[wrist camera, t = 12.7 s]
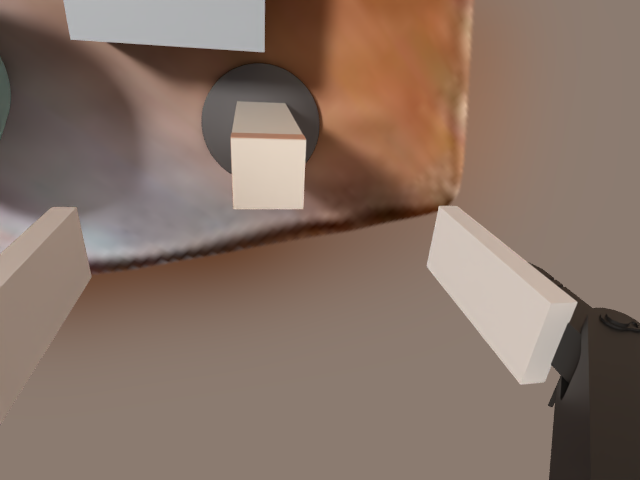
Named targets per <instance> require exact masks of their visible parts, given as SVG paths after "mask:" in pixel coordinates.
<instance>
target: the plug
mask: <svg viewBox="0 0 640 480" xmlns="http://www.w3.org/2000/svg"><path fill="white" fill-rule="evenodd" d="M305 157H306V138H305V136H304V135H303V134H302V132H301V130H300V128H299V127H298V125H297V123H296V121H295V120H294V118H293V116H292V114H291V112H290V111H289V109H288V107H287V105H286V104H285V103H267V102H242V101H237V104H236V110H235V116H234V122H233V128H232V133H231V166H232V194H233V209H303V201H304V179H305Z"/></svg>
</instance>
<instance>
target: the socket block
mask: <svg viewBox="0 0 640 480" xmlns="http://www.w3.org/2000/svg"><path fill="white" fill-rule="evenodd" d="M63 1H64V6H65V12H66V17H67V23H68V28H69V34H70V39H71V40H84V41H99V42H114V43H130V44H145V45H160V46H175V47H191V48H206V49H221V50H236V51H251V52H265V0H63Z"/></svg>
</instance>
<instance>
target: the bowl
mask: <svg viewBox="0 0 640 480" xmlns="http://www.w3.org/2000/svg"><path fill="white" fill-rule="evenodd" d="M10 104H11V90H10V82H9V78H8V74H7V71H6V68H5V66H4V63H3V61H2V59H1V57H0V139H1V136H2V133H3V130H4V127H5V124H6V120H7V117H8V114H9V110H10Z"/></svg>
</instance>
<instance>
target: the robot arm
mask: <svg viewBox="0 0 640 480" xmlns="http://www.w3.org/2000/svg"><path fill="white" fill-rule="evenodd" d="M427 268H428V269H429V270H430V272H431V273H432V274H433V275H434V277H436V279H437V280H438V282H439V283H440V284H441V285H442V287H443V288H444V289H445V290H446V291H447V293H448V294H449V295H450V297H451V298H452V299H453V300H454V302H455V303H456V304H457V305H458V307H459V308H460V309H461V310H462V312H463V313H464V314H465V315H466V317H467V318H468V319H469V320H470V321H471V323H472V324H473V325H474V327H475V328H476V329H477V330H478V332H479V333H480V334H481V335H482V337H483V338H484V339H485V340H486V342H487V343H488V344H489V345H490V347H491V348H492V349H493V350H494V352H495V353H496V354H497V356H498V357H499V358H500V359H501V361H502V362H503V363H504V364H505V366H506V367H507V368H508V369H509V371H510V372H511V373H512V374H513V376H514V377H515V378H516V379H517V381H518V382H519V383H520V384H532V383H542V382H545V380H546V378H547V375H548V373H549V370H550V368H551V366H553V367H554V368H555V369H556V370H557V371H558V372H559V374H560V375H561V376H560V379H559V381H558V383H557V386H556V388H555V390H554V393H553V395H552V398H551V399H550V402H549V404H548V406H550V407H553V405H554V403H555V411H554V424H553V437H552V449H551V461H550V475H549V480H640V323H639V322H637V321H636V320H635V319H632V318H631V317H629V316H628V315H626V314H623V313H620V312H618V311H615V310H611V309H606V308H592V307H590V306H589V305H588V304H586V303H585V302H584V301H583V300H581V299H580V298H579V297H577V296H576V295H575V294H573V293H572V292H571V291H570V290H568V289H567V288H566V287H563V285H562V284H560V282H558V281H557V280H554V278H553V277H552V276H551V275H549V274H548V273H547V272H545V271H544V270H543V269H541V268H539V267H537V266H535V265H533V264H531V263H529V262H527V261H525V260H524V259H523V258H522V257H520V256H519V255H518V254H517V253H515V252H514V251H513V250H512V249H510V248H509V247H508V246H506V245H505V244H504V243H503V242H502V241H500V240H499V239H497V238H496V237H495V236H494V235H493V234H491V233H490V232H489V231H488V230H486V229H485V228H484V227H483V226H481V225H480V224H479V223H478V222H476V221H475V220H474V219H473V218H471V217H470V216H469V215H468V214H466V213H465V212H464V211H463V210H461V209H460V208H459V207H458V206H439V209H438V214H437V218H436V223H435V228H434V233H433V238H432V243H431V248H430V252H429V257H428V262H427ZM90 278H91V272H90V268H89V263H88V258H87V254H86V249H85V244H84V239H83V235H82V230H81V225H80V220H79V216H78V211H77V207H51V208H50V209H49V210H48V211H47V212H46V213H45V214H43V215H42V216H41V217H40V218H39V219H38V220H37V221H36V222H35V223H34V224H32V225H31V226H30V227H29V228H28V229H27V230H26V231H25V232H24V233H23V234H22V235H20V236H19V237H18V238H17V239H16V240H15V241H14V242H13V243H12V244H11V245H10V246H8V247H7V248H6V249H5V250H4V251H3V252H2V253H1V254H0V425H1V423H2V421H3V420H4V418H5V417H6V415H7V413H8V412H9V410H10V409H11V407H12V405H13V404H14V402H15V400H16V399H17V397H18V395H19V394H20V392H21V391H22V389H23V387H24V386H25V384H26V383H27V381H28V379H29V378H30V376H31V374H32V373H33V371H34V370H35V368H36V366H37V365H38V363H39V361H40V360H41V358H42V357H43V355H44V353H45V352H46V350H47V348H48V347H49V345H50V344H51V342H52V340H53V339H54V337H55V335H56V334H57V332H58V330H59V329H60V327H61V326H62V324H63V322H64V321H65V319H66V318H67V316H68V314H69V313H70V311H71V309H72V308H73V306H74V304H75V303H76V301H77V299H78V298H79V296H80V295H81V293H82V292H83V290H84V288H85V287H86V285H87V283H88V282H89V280H90Z"/></svg>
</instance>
